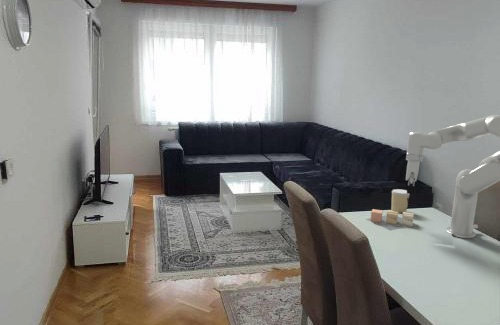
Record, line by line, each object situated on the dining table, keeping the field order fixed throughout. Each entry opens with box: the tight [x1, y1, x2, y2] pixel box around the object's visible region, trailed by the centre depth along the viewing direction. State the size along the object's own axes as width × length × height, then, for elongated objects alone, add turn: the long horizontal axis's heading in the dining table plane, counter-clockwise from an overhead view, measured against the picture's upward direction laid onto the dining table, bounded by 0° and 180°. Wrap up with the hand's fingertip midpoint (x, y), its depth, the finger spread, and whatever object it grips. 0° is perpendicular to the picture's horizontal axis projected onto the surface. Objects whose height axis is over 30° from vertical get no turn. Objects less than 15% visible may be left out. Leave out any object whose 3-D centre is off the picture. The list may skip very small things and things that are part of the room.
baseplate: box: [365, 215, 418, 231], centre depth 203 cm, size 19×17×1 cm
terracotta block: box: [370, 208, 384, 223], centre depth 204 cm, size 5×5×5 cm
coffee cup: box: [390, 188, 410, 214], centre depth 221 cm, size 9×9×12 cm
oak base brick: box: [386, 210, 399, 224], centre depth 202 cm, size 5×5×5 cm
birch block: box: [401, 211, 415, 227], centre depth 200 cm, size 5×5×5 cm
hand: (410, 191), depth 197 cm, fingers open, 9 cm apart
